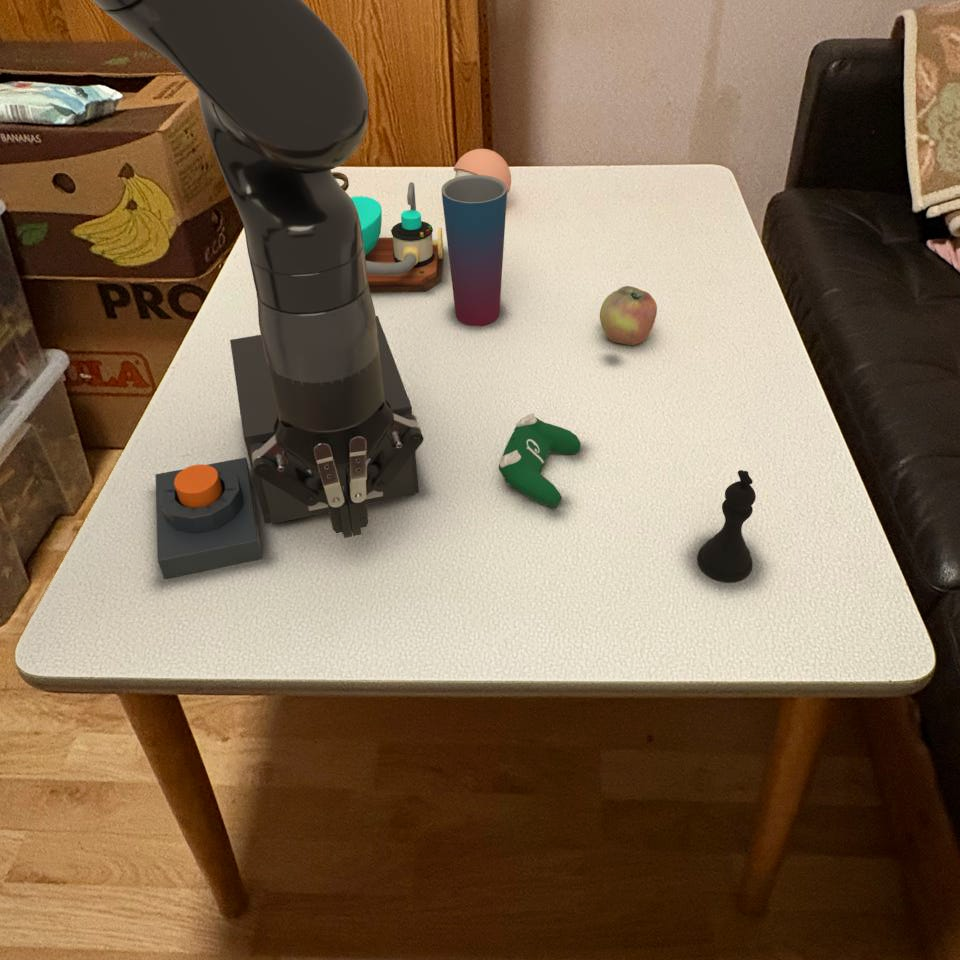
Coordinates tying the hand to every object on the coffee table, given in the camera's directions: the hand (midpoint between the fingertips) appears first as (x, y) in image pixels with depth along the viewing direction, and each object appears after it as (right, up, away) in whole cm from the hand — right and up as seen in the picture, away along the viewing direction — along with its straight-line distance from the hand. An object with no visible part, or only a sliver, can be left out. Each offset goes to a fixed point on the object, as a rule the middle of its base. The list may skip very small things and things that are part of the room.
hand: (351, 529), depth 72 cm
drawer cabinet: (-4, +6, +14) cm, 15 cm away
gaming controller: (+16, +4, +11) cm, 20 cm away
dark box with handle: (-3, +4, +10) cm, 11 cm away
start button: (-13, +3, +5) cm, 14 cm away
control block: (-13, 0, +7) cm, 15 cm away
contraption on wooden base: (-3, +29, +39) cm, 49 cm away
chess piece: (+30, -3, +3) cm, 31 cm away
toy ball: (+11, +41, +52) cm, 67 cm away
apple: (+26, +19, +27) cm, 42 cm away
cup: (+10, +23, +32) cm, 40 cm away
